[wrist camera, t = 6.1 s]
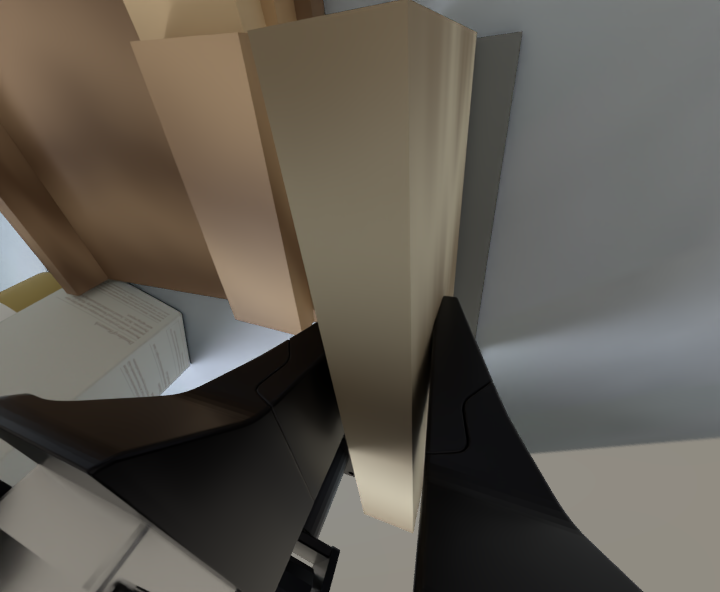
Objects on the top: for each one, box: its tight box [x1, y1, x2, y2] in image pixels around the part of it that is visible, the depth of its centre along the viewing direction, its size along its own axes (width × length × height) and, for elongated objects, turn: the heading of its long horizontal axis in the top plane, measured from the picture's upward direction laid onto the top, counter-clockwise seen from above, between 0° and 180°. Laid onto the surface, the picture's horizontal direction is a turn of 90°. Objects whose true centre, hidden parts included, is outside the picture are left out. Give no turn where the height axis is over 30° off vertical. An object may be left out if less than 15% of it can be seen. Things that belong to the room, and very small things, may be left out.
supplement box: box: [0, 279, 190, 487], centre depth 20 cm, size 7×7×13 cm
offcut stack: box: [123, 0, 318, 335], centre depth 10 cm, size 13×4×3 cm, turn 7°
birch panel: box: [247, 0, 477, 533], centre depth 9 cm, size 12×2×7 cm, turn 7°
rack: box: [0, 0, 325, 299], centre depth 14 cm, size 14×19×3 cm
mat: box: [453, 31, 523, 337], centre depth 12 cm, size 12×4×1 cm, turn 7°
